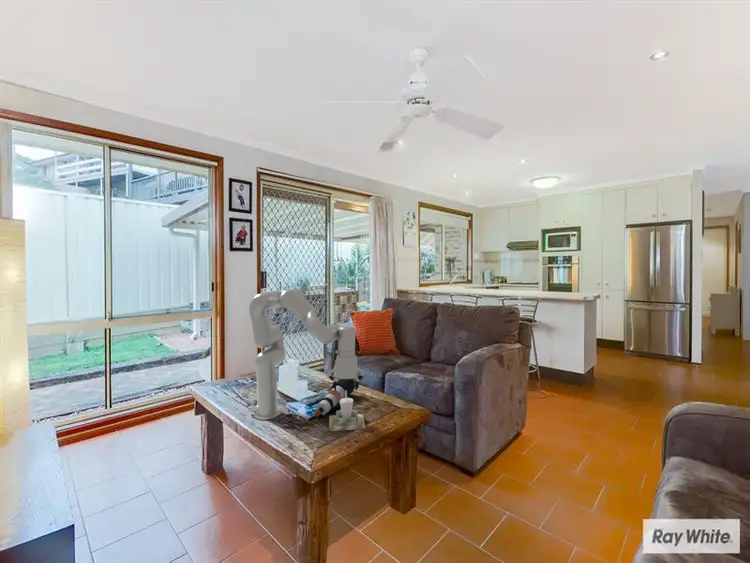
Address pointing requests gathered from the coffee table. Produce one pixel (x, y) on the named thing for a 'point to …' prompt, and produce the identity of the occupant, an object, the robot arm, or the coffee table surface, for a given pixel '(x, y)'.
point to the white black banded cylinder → (335, 396)
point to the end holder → (346, 421)
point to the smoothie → (346, 406)
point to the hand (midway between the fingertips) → (345, 389)
